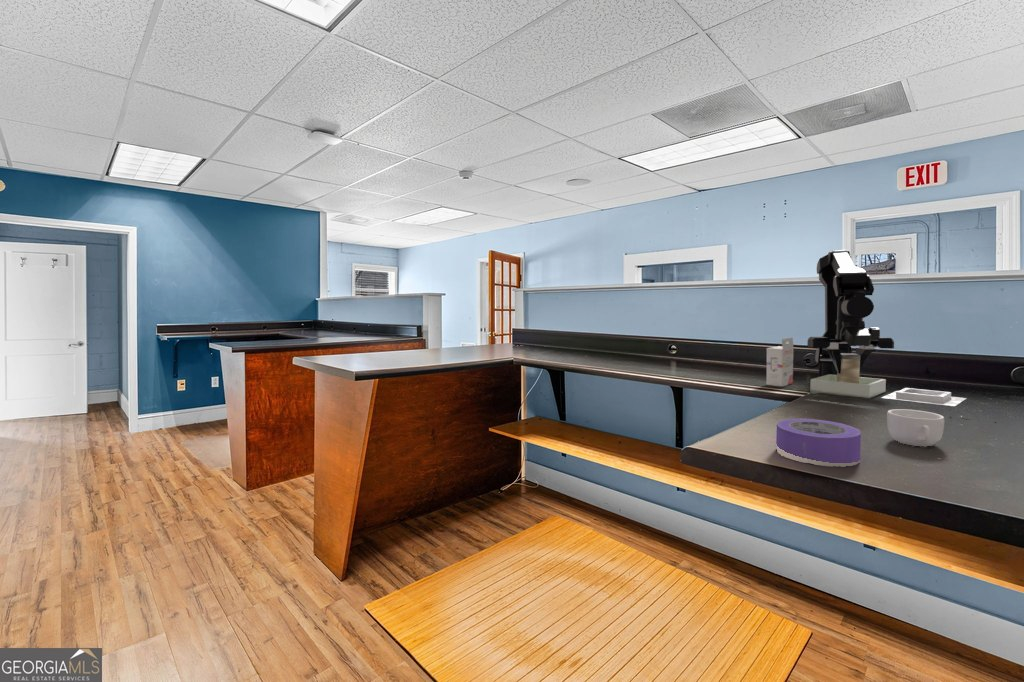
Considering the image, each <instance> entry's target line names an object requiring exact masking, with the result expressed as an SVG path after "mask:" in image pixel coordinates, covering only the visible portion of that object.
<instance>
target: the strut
mask: <svg viewBox="0 0 1024 682" xmlns="http://www.w3.org/2000/svg"><path fill="white" fill-rule="evenodd" d="M840 360H841V372H840V374H839V373H837V381H838V382H848V383H858V384H859V377H861V375H860V372H861V370H860V355H859V354H856V352H855V353H853V352H852V353H841V354H840Z"/></svg>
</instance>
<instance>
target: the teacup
mask: <svg viewBox="0 0 1024 682" xmlns="http://www.w3.org/2000/svg"><path fill="white" fill-rule="evenodd" d="M886 425H887V430H888V431H887V432H888V433H889V435H890V437H892V439H893V440H895V441H896V442H897V441H898V442H897V443H899V442H900V443H899V444H901V443H904V444H908V445H914V446H930V447H932V446H934V445H936V444H938V442H940V440H941V439H942V437H943V434H944V429H945V417H944V416H943V415H942V414H938V413H935V412H930V411H924V410H917V409H907V408H905V409H904V408H903V409H902V408H899V409H897V408H895V409H888V411H887V413H886ZM904 444H903V445H904ZM908 445H907V446H908ZM914 446H913V447H914Z"/></svg>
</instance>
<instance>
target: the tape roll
mask: <svg viewBox="0 0 1024 682" xmlns="http://www.w3.org/2000/svg"><path fill="white" fill-rule="evenodd" d="M775 437H776V439H775V440H776V441H775V442H776V443H775V444H777V446H778V447H779V448H780V449H782V450H784V451H785V452H787V453H790V454H793V455H795V456H799V457H802V458H807V459H811V460H816V461H822V462H829V463H852V462H858V461H859V460H860V461H861V446H862V445H861V444H862V443H861V442H862V440H861V439H862V433H861V430H860V429H858V428H856V427H854V426H851V425H848V424H845V423H840V422H836V421H830V420H824V419H814V418H813V419H812V418H787V419H783V420H779V421H778V422H776V436H775Z"/></svg>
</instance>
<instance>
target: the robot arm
mask: <svg viewBox="0 0 1024 682" xmlns="http://www.w3.org/2000/svg"><path fill="white" fill-rule="evenodd" d="M816 274H817V275H818V281H820V283H821V284H822V285H823V286H824V322H825V323H824V326H825V327H824V330H825V331H824V333H823V334H822V336H809V337H808V339H807V347H809V348H813V349H815V350H816V351H815V354H814V357H815V362H816V363H818V377H821V376H824V375H828V374H831V375H837V373H839V374H840V372H841V360H840V354H841V353H853V351H854V350H853V348H852V347H856V348H855V354H859V355H860V371H861V370H862V368H863V366H864V364H865V362H866V360H867V358H868V357H869V356H870V355H871V354H872V353H873V352H874V353H875V352H877V351H878V349H877V348H879V349H894V348H895V341H894V339H893V338H892V337H887V336H881V329H880V327H878V326H877V327H876V326H875V327H873V326H872V327H869V328H866V322H865V320H864V318H866V317H869V316H870V315H871V314H872V313H873V311H874V309H875V305H874V302H873V301H872V299H870V298H869V297H867V296H873V293H874V291H875V287H874V284H873V281H872V279H871V277H870V274H868V273H867V271H866V270H865V269H863V268H860V267H856V265H855V264H854V262H853V260H852V256H851V253H850V250H847V249H837V250H834V249H833V250H830V251H828V253H827V254H826V255H824V256H822V257H820V258H819V260H818V262H817V263H816Z"/></svg>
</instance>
